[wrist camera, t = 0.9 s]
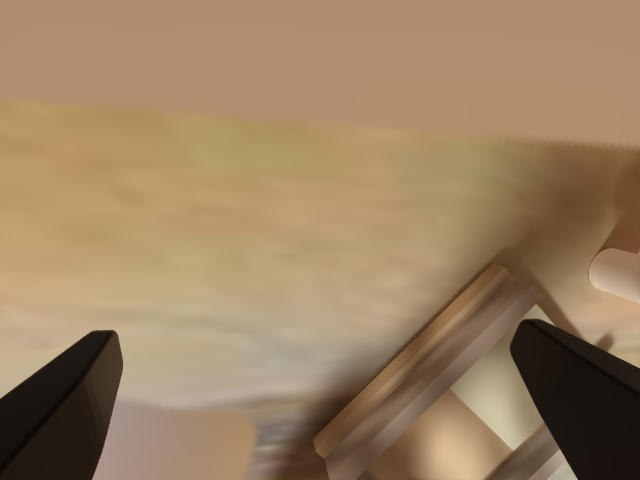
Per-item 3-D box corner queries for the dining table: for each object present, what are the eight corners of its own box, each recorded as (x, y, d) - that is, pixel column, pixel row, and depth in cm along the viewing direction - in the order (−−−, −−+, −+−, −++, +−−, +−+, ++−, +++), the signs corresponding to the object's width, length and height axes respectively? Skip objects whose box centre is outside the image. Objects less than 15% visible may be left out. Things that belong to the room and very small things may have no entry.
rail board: (436, 535, 29) (456, 576, 26) (312, 438, 25) (320, 475, 22) (594, 383, 28) (633, 408, 26) (493, 262, 25) (525, 275, 22)
